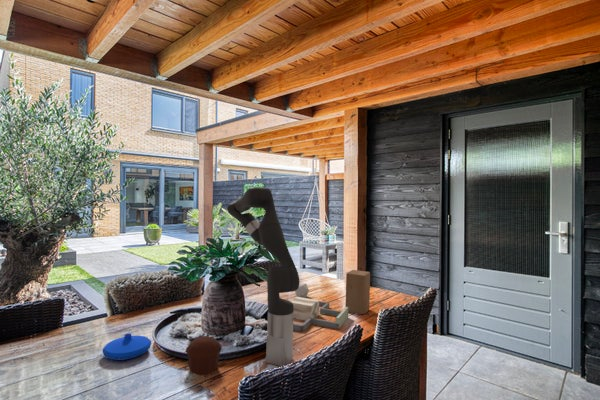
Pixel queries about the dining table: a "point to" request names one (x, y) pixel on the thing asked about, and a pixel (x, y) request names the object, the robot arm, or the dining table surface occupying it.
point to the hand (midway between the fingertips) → (275, 255)
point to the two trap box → (323, 310)
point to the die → (302, 290)
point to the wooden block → (357, 291)
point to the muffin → (203, 355)
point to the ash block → (305, 308)
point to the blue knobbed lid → (126, 347)
